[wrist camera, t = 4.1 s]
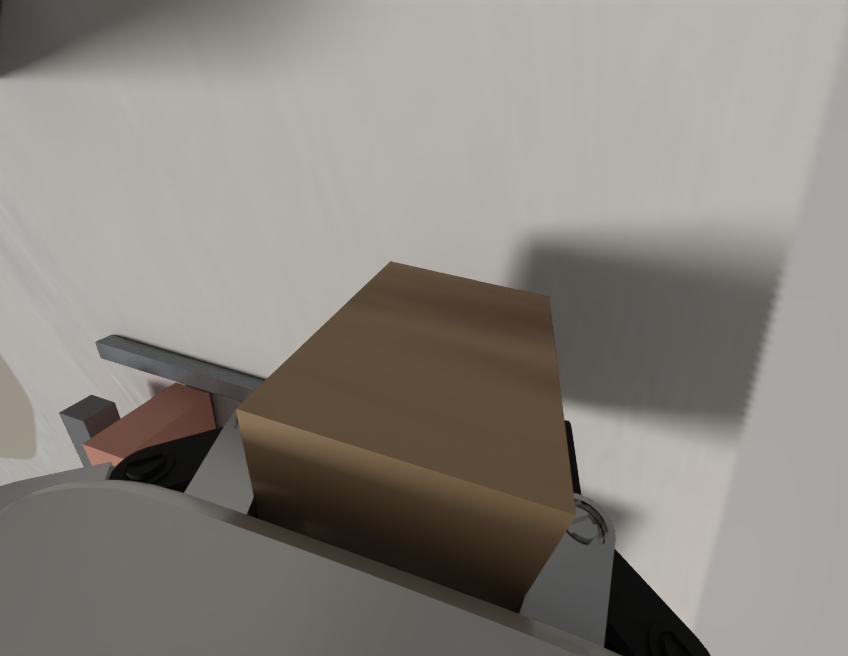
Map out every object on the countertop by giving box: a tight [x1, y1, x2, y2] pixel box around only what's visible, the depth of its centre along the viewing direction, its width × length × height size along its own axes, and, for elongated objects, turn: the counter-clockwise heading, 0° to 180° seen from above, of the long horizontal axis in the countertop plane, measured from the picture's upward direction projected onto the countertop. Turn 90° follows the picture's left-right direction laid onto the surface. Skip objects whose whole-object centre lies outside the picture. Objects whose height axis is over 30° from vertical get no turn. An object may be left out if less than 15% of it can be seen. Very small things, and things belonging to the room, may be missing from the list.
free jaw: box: [59, 383, 216, 467], centre depth 22 cm, size 9×7×6 cm
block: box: [236, 261, 576, 612], centre depth 10 cm, size 7×5×7 cm
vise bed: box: [95, 335, 265, 402], centre depth 21 cm, size 13×27×6 cm, turn 82°
